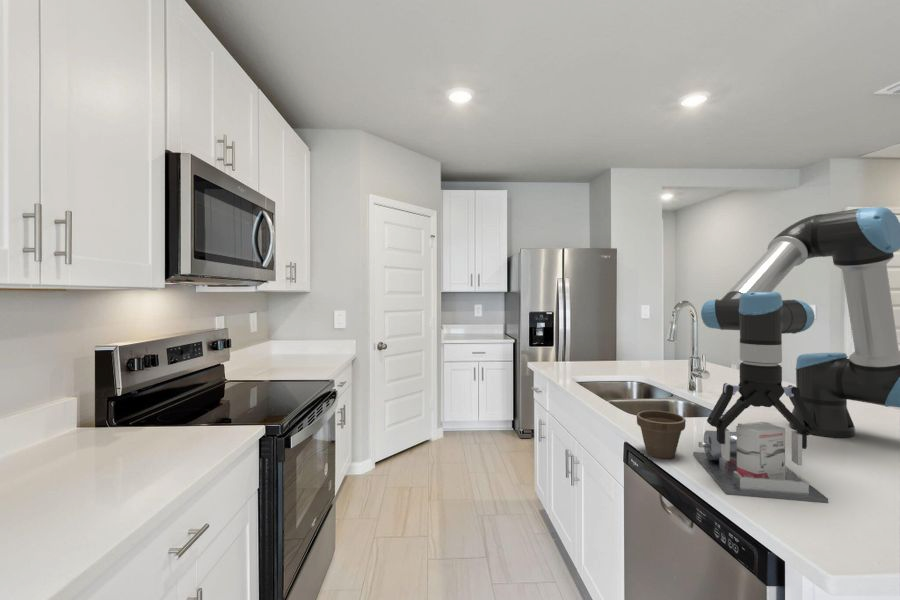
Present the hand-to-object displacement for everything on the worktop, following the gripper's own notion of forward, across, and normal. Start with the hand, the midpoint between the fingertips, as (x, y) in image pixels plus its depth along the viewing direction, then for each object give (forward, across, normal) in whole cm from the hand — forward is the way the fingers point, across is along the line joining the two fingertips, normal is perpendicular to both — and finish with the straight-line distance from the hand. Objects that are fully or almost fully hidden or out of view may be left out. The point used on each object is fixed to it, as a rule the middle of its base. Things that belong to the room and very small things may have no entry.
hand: (760, 460), depth 97 cm
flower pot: (+5, +17, -14) cm, 23 cm away
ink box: (+4, 0, 0) cm, 4 cm away
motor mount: (+5, 0, -4) cm, 7 cm away
